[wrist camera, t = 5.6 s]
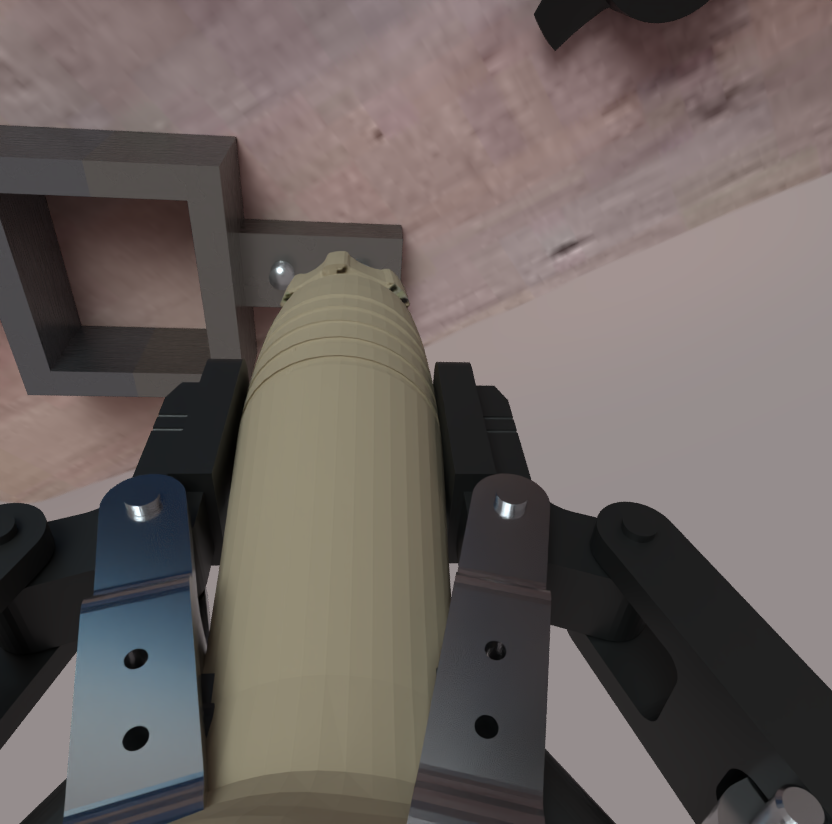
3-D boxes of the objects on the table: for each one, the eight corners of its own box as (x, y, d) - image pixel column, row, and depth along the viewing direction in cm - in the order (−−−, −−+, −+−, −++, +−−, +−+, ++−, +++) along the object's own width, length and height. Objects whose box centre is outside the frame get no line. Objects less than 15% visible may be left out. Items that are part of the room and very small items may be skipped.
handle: (350, 146, 15) (301, 1040, 3) (485, 344, 18) (704, 1129, 7) (193, 257, 16) (-264, 1174, 4) (345, 422, 20) (318, 1189, 8)
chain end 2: (159, 350, 38) (138, 396, 34) (115, 130, 30) (81, 160, 27) (394, 355, 39) (397, 400, 35) (405, 145, 32) (410, 175, 28)
